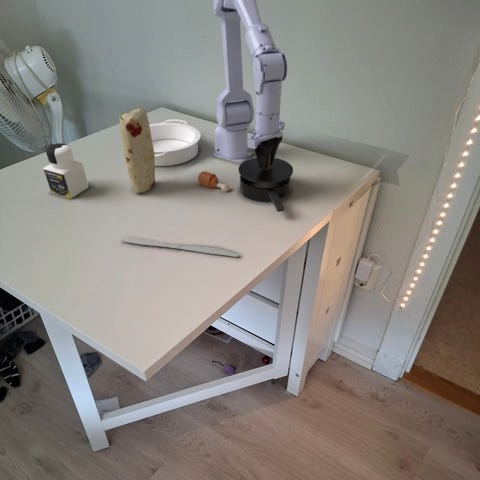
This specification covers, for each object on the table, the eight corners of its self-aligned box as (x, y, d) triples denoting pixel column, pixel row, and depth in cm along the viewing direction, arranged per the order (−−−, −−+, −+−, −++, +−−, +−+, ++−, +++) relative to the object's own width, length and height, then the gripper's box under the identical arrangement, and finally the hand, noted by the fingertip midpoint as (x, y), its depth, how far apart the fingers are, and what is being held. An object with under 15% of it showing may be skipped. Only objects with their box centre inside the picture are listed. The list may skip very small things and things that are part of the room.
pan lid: (227, 176, 112) (227, 158, 109) (256, 156, 121) (256, 138, 118) (276, 190, 107) (277, 171, 104) (302, 168, 115) (304, 150, 112)
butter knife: (128, 234, 102) (122, 240, 99) (240, 251, 97) (237, 258, 95) (128, 236, 102) (123, 242, 100) (240, 253, 98) (237, 260, 95)
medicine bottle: (50, 193, 117) (36, 148, 109) (69, 181, 121) (57, 138, 113) (70, 199, 115) (57, 154, 106) (89, 187, 119) (78, 143, 111)
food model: (147, 198, 115) (134, 119, 101) (125, 194, 116) (109, 116, 102) (163, 181, 122) (153, 105, 108) (142, 178, 123) (129, 102, 109)
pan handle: (267, 194, 111) (267, 190, 111) (274, 193, 112) (274, 189, 111) (277, 212, 105) (277, 208, 104) (284, 211, 105) (284, 207, 105)
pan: (230, 194, 116) (230, 180, 113) (256, 175, 124) (256, 161, 121) (273, 208, 111) (274, 194, 108) (297, 187, 119) (299, 173, 116)
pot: (147, 131, 147) (145, 116, 144) (211, 136, 144) (210, 121, 141) (113, 169, 127) (110, 153, 124) (187, 175, 124) (186, 159, 121)
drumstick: (195, 186, 120) (194, 172, 117) (203, 181, 122) (203, 167, 119) (224, 195, 116) (224, 182, 113) (232, 189, 118) (232, 176, 116)
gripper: (267, 124, 97) (264, 181, 107) (297, 105, 106) (292, 159, 116) (240, 118, 100) (240, 174, 110) (271, 100, 109) (269, 153, 118)
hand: (265, 166), depth 113 cm, fingers closed on pan lid, 2 cm apart
